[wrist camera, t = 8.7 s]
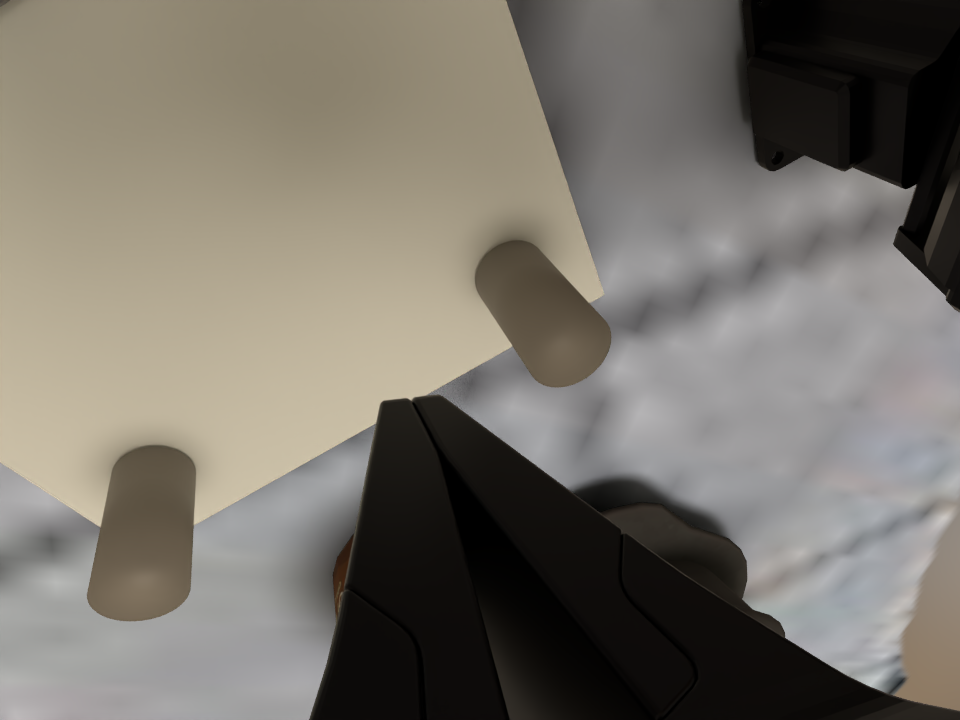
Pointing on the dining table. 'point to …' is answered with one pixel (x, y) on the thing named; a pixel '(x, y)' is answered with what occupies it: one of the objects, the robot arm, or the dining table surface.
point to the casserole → (691, 552)
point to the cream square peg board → (260, 247)
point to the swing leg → (3, 2)
